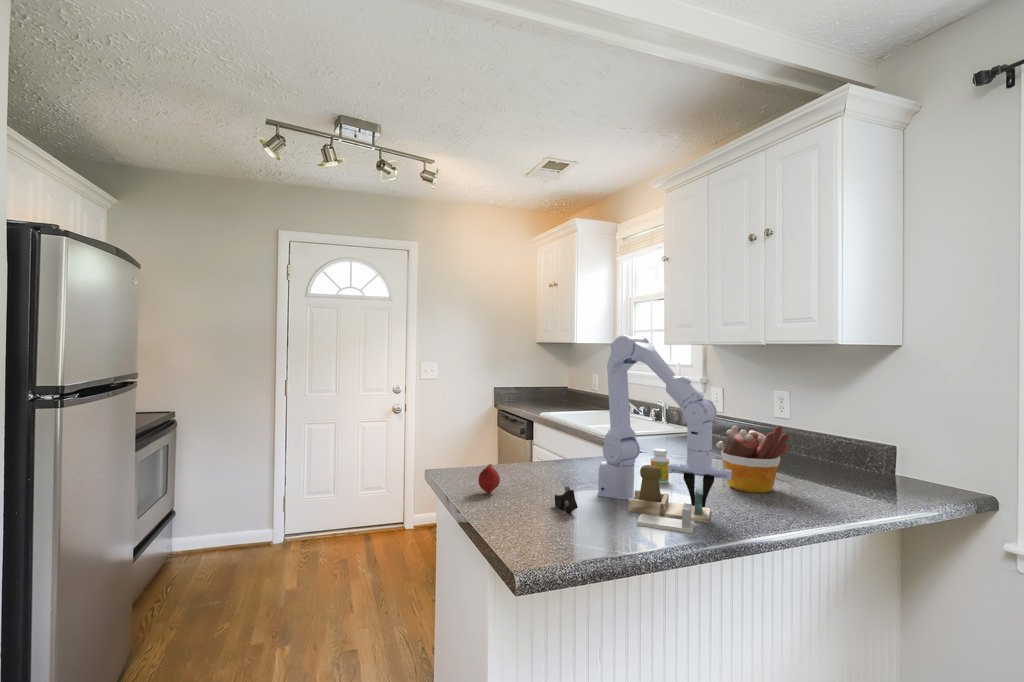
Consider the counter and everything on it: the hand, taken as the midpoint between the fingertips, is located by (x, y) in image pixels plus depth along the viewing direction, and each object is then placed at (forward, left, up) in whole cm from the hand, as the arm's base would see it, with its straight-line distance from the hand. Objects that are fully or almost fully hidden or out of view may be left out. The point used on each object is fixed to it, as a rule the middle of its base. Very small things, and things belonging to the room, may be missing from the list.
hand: (698, 505), depth 123 cm
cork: (-11, 0, -3) cm, 12 cm away
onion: (-54, -6, -3) cm, 54 cm away
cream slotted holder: (-6, 0, -2) cm, 7 cm away
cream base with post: (-7, -11, -2) cm, 13 cm away
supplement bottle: (-13, +31, -3) cm, 34 cm away
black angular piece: (-31, -11, -3) cm, 33 cm away
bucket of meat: (+13, +35, -3) cm, 38 cm away
